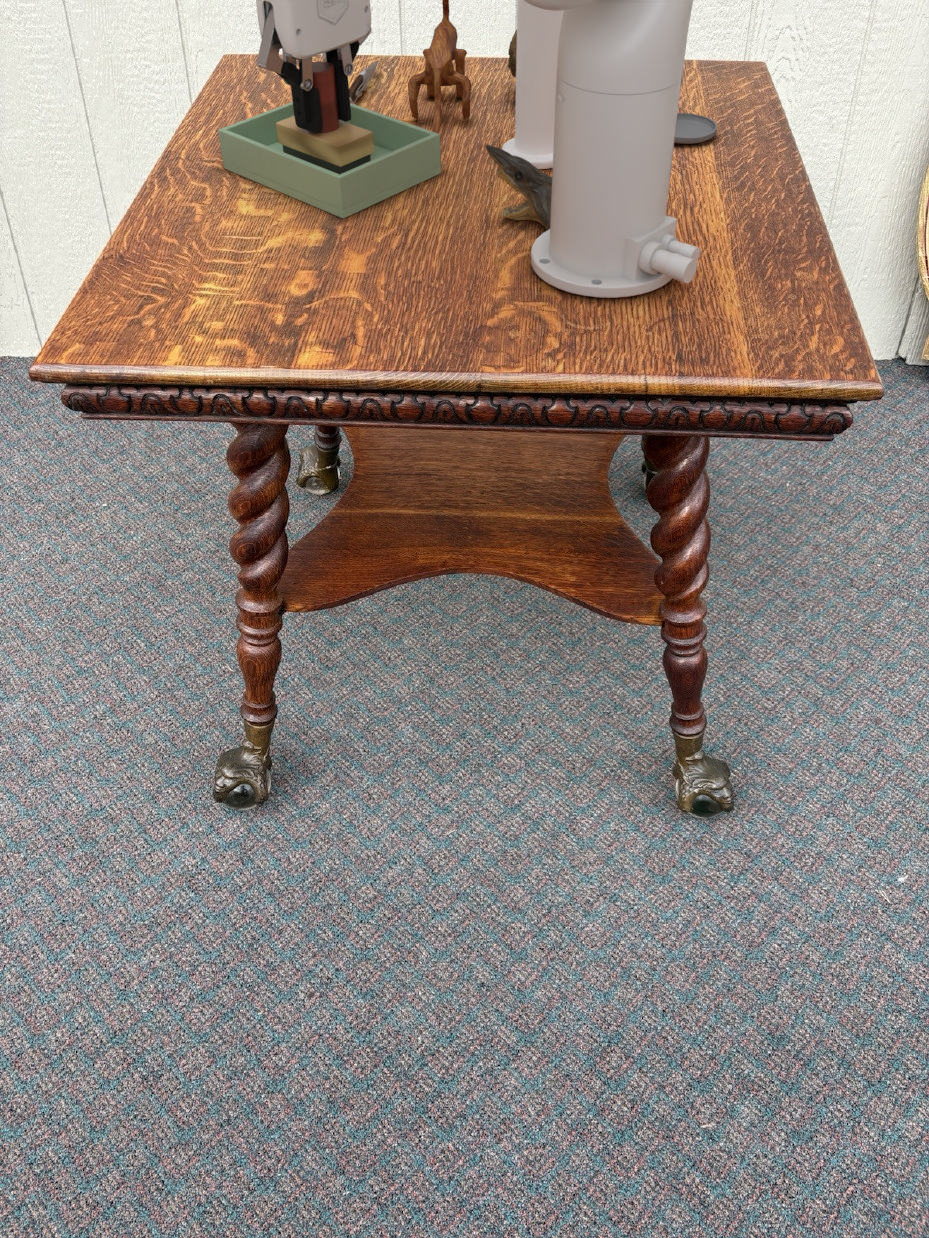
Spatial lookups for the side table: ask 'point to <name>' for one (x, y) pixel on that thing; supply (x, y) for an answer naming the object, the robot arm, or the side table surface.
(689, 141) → the dark grey round piece
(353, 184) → the tray
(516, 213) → the shark head
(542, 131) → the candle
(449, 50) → the wooden animal figurine
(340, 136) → the stamp
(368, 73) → the pocket knife
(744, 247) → the side table surface
